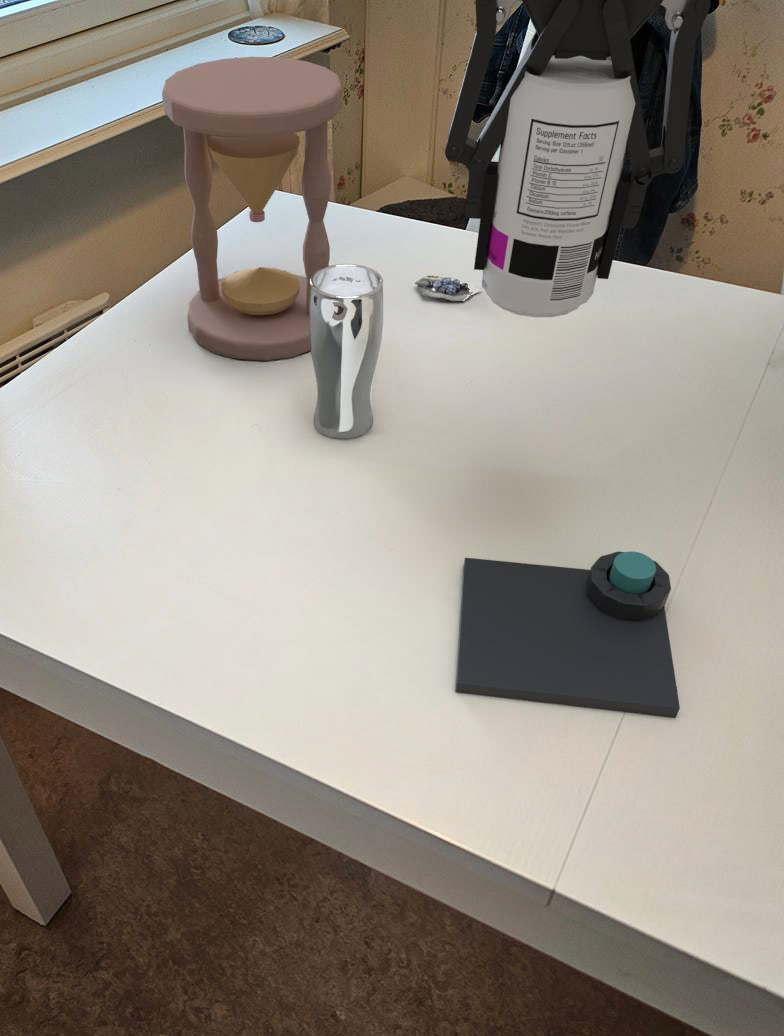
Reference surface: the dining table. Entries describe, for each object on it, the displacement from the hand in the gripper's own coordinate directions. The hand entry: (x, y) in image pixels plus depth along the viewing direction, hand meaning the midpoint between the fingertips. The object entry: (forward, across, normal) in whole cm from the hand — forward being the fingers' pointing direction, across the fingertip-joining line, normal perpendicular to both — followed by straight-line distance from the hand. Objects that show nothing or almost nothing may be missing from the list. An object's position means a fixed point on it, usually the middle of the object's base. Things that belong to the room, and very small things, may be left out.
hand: (540, 265), depth 66 cm
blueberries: (+23, -7, +41) cm, 47 cm away
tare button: (+20, +11, -11) cm, 25 cm away
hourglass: (+23, -28, +30) cm, 47 cm away
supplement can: (+2, 0, 0) cm, 2 cm away
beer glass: (+23, -16, +11) cm, 30 cm away
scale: (+22, +6, -16) cm, 28 cm away
